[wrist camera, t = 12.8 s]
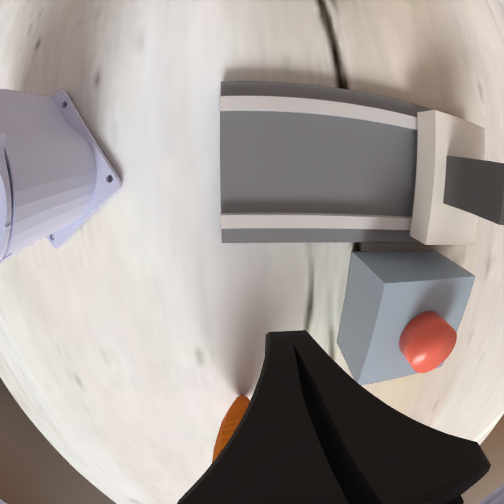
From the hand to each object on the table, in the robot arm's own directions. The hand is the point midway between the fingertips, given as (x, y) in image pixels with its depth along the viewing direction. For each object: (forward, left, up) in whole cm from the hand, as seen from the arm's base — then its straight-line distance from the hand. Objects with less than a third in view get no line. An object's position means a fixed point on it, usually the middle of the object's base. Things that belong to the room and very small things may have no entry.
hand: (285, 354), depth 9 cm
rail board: (-1, +9, -10) cm, 14 cm away
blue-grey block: (+9, +6, -10) cm, 15 cm away
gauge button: (+9, +7, -5) cm, 12 cm away
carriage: (+2, +14, -8) cm, 16 cm away
